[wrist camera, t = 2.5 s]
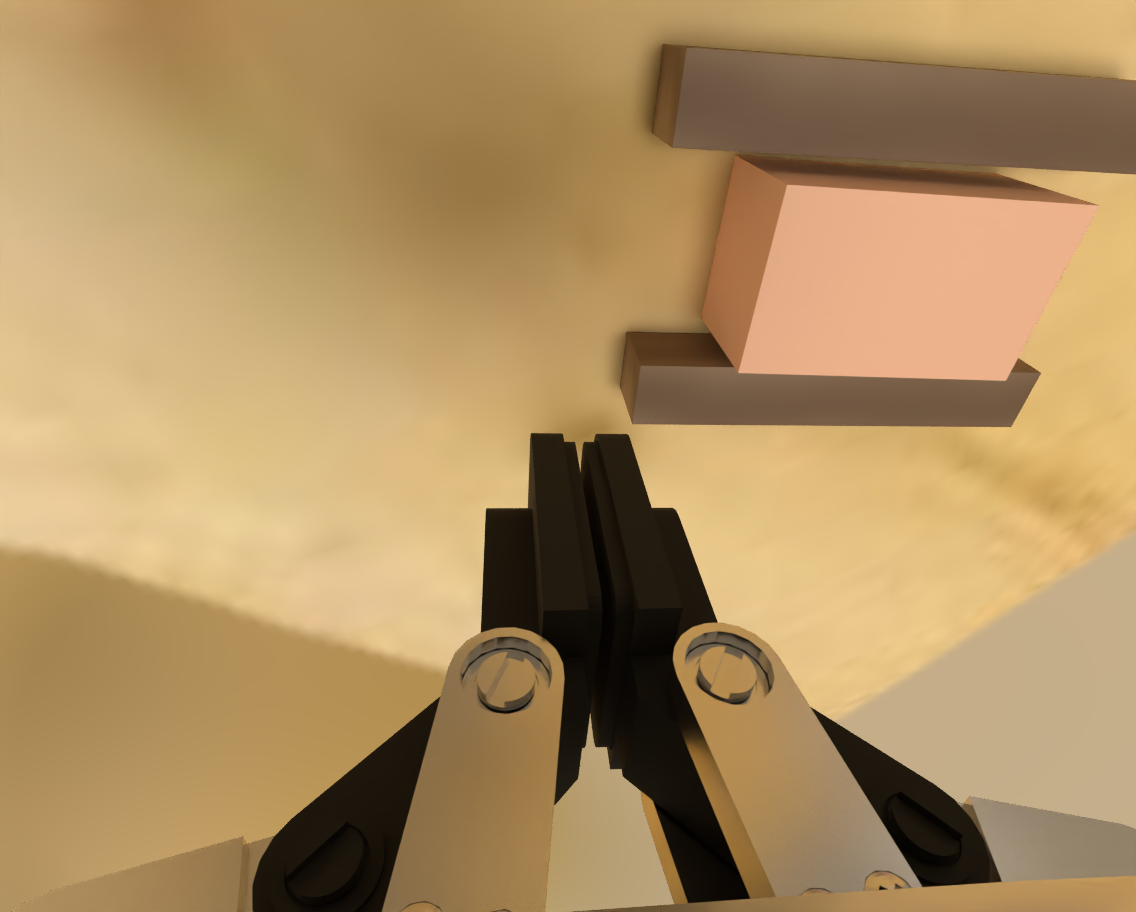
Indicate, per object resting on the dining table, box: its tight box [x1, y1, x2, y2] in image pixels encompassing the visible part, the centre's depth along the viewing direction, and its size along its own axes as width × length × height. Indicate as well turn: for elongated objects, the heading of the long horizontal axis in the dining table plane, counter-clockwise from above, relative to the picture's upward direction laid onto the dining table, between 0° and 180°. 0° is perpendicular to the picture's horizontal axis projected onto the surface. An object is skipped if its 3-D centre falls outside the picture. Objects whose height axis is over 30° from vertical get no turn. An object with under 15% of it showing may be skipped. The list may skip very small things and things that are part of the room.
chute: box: [620, 44, 1136, 427], centre depth 23 cm, size 12×16×3 cm
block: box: [701, 155, 1099, 381], centre depth 22 cm, size 6×10×5 cm, turn 85°
